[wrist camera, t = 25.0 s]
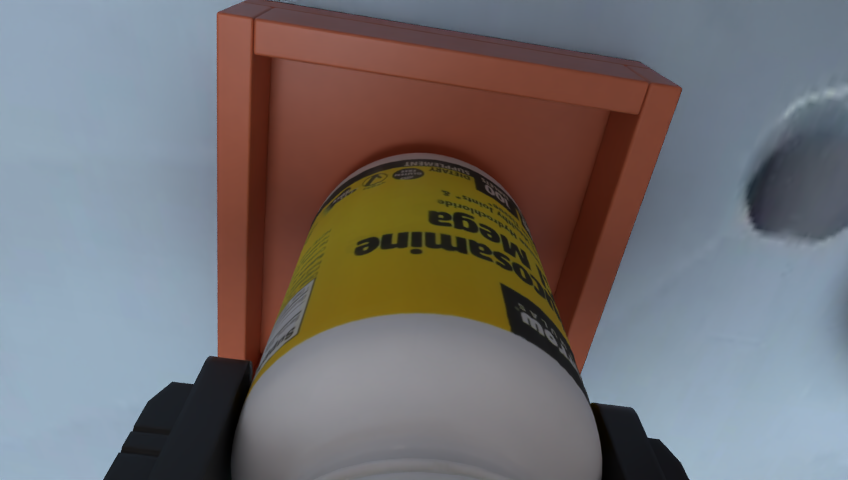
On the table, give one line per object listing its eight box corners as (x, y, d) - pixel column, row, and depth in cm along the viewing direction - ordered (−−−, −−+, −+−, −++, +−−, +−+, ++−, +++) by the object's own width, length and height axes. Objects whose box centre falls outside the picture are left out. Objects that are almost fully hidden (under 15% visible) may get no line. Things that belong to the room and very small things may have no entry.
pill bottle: (570, 204, 16) (797, 619, 7) (462, 363, 19) (509, 833, 9) (364, 103, 15) (260, 434, 5) (277, 289, 18) (99, 747, 8)
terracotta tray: (641, 61, 16) (684, 87, 14) (538, 385, 22) (554, 448, 19) (250, -3, 16) (215, 11, 13) (243, 349, 21) (217, 411, 18)
